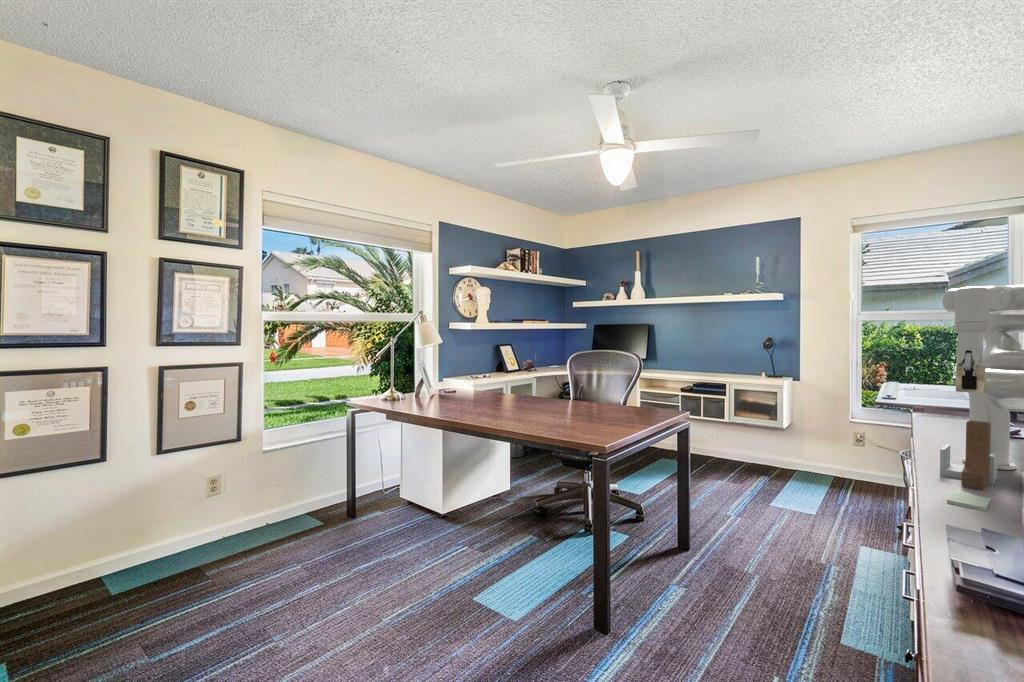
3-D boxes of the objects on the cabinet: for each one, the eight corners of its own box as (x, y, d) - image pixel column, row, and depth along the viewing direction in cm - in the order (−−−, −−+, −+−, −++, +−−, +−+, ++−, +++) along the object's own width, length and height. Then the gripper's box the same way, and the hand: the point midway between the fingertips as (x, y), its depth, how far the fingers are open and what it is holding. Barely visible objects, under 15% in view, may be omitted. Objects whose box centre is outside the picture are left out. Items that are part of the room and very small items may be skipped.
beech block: (957, 390, 150) (958, 364, 149) (984, 392, 145) (985, 365, 145) (955, 391, 147) (956, 365, 147) (983, 393, 142) (983, 366, 142)
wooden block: (982, 491, 133) (984, 426, 133) (960, 486, 137) (962, 423, 136) (989, 484, 139) (990, 422, 138) (968, 480, 142) (969, 419, 142)
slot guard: (945, 469, 154) (946, 444, 154) (996, 477, 145) (997, 451, 145) (939, 475, 148) (940, 449, 147) (993, 484, 139) (993, 456, 139)
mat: (953, 494, 130) (953, 491, 130) (990, 501, 125) (990, 498, 125) (946, 502, 124) (946, 499, 124) (985, 510, 119) (985, 507, 118)
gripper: (959, 328, 154) (957, 385, 154) (950, 328, 143) (948, 389, 143) (992, 328, 148) (990, 387, 149) (985, 328, 137) (984, 392, 138)
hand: (970, 388), depth 146 cm, fingers closed on beech block, 4 cm apart
